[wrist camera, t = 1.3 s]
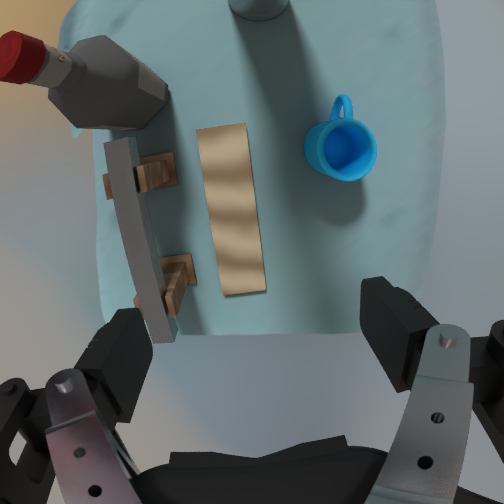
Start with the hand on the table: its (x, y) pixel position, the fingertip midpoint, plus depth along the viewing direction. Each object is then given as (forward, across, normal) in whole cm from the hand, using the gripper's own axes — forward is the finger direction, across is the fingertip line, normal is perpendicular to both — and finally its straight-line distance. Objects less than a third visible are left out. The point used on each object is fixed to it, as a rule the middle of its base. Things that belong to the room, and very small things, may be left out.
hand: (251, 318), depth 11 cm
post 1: (+36, +13, -4) cm, 39 cm away
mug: (+36, -14, -6) cm, 40 cm away
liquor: (+36, +14, -16) cm, 42 cm away
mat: (+36, +2, +4) cm, 37 cm away
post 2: (+36, +13, +12) cm, 40 cm away
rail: (+26, +13, +4) cm, 30 cm away
